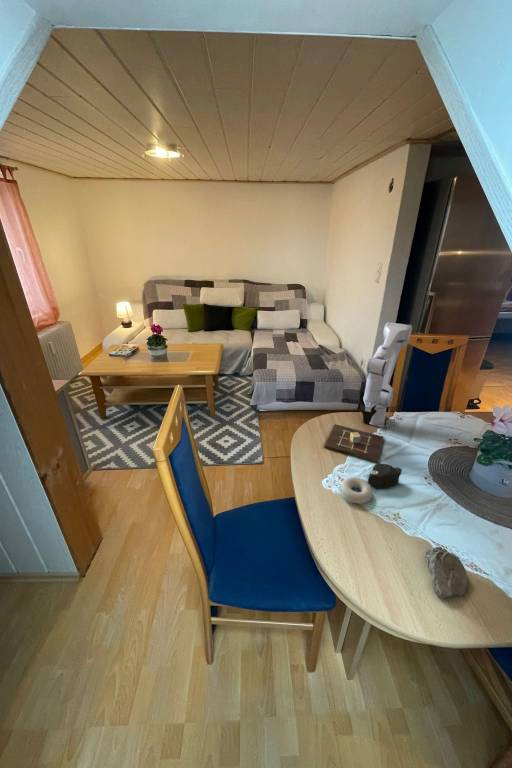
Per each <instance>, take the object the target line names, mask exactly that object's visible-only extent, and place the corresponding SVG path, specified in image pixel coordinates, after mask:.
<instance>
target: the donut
mask: <svg viewBox="0 0 512 768" xmlns="http://www.w3.org/2000/svg"><path fill="white" fill-rule="evenodd" d="M353 488H355V489H359V490H360V491H358V492H357V491H355V490H353ZM372 488H373V487H372V486H371V485H369V484H368V481H366V480H364V479H363V478H361V477H356V476H350V477H347V478H345V479H343V480H342V482H341V484H340V492H341V495H342V496H343V497H344V498H345V499H346V500H348V501H349V502H351V503H354V504H359V505H361V504H366V503H368V502H369V501H371V500H372V497H373V489H372Z"/></svg>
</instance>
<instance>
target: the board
mask: <svg viewBox="0 0 512 768" xmlns="http://www.w3.org/2000/svg"><path fill="white" fill-rule="evenodd" d="M353 432H358V433H359V435H360V436H361V438H360V442H358V443H352V441H351V439H350V434H351V433H353ZM383 440H384V436H382V435H379V434H375V433H371V432H367V431H363V430H359V429H356V428H351V427H347V426H345V425H344V426H343V425H339V424H336V423H335V424H334V425H333V427H332V430H331V432H330V434H329V436H328V437H327V440H326V442H325V444H324V448H325V449H328V450H332V451H335V452H339V453H342V454H346V455H348V456H352V457H355V458H359V459H362V460H366V461H369V462H373V463H376V464H379V463H378V462H379V458H380V453H381V450H382V445H383Z"/></svg>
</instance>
